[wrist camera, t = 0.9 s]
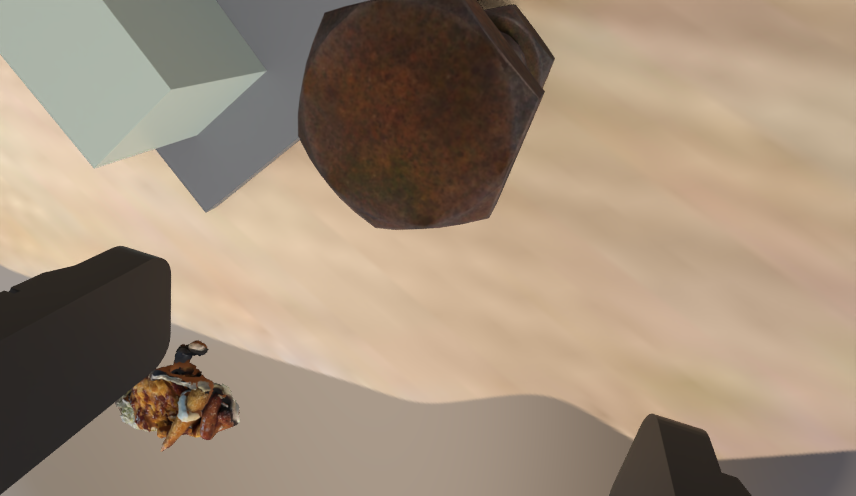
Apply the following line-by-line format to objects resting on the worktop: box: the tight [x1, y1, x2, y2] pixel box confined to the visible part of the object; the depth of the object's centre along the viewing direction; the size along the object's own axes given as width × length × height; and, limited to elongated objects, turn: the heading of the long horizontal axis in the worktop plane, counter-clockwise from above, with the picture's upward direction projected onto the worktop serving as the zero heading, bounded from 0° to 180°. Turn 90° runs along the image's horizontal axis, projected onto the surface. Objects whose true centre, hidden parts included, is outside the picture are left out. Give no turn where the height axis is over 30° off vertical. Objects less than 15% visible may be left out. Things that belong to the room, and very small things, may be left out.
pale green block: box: [0, 0, 267, 169], centre depth 25 cm, size 6×9×7 cm, turn 36°
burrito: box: [115, 340, 240, 452], centre depth 40 cm, size 7×12×4 cm, turn 125°
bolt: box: [298, 0, 555, 230], centre depth 18 cm, size 6×5×15 cm
